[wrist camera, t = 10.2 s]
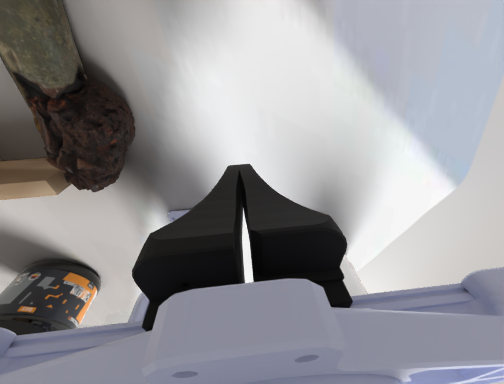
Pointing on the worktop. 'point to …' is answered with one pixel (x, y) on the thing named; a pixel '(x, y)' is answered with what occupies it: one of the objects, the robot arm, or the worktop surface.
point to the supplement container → (48, 298)
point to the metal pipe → (64, 94)
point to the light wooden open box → (30, 179)
